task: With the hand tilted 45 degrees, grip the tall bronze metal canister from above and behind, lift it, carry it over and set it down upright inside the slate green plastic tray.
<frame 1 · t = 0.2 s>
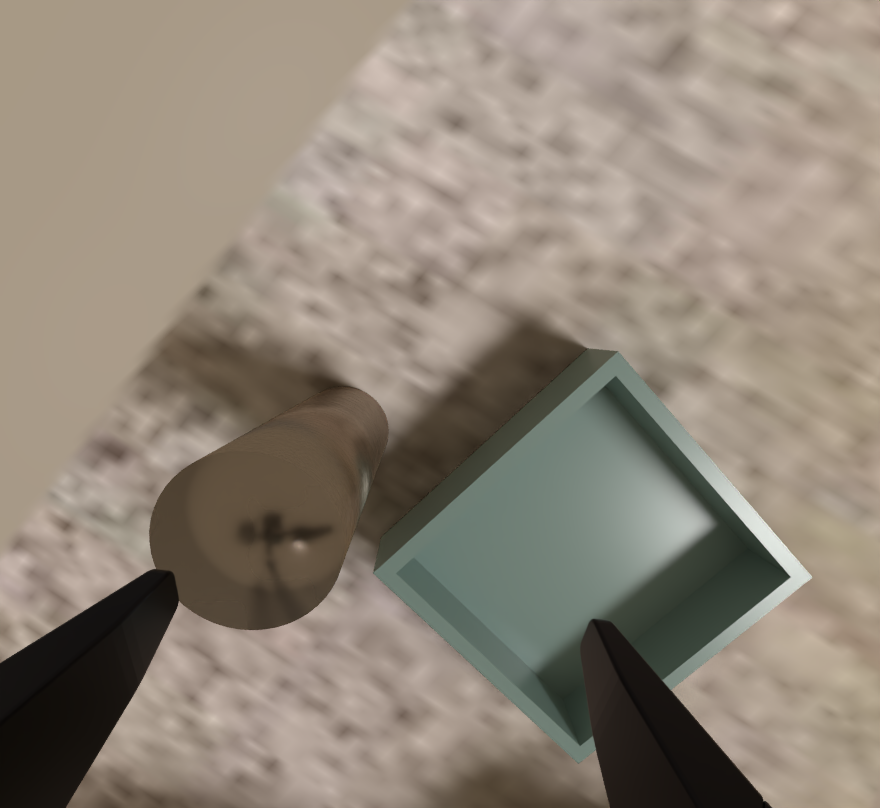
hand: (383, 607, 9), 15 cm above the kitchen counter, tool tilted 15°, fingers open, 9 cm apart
tray: (571, 539, 25), on the kitchen counter
canister: (344, 430, 24), on the kitchen counter
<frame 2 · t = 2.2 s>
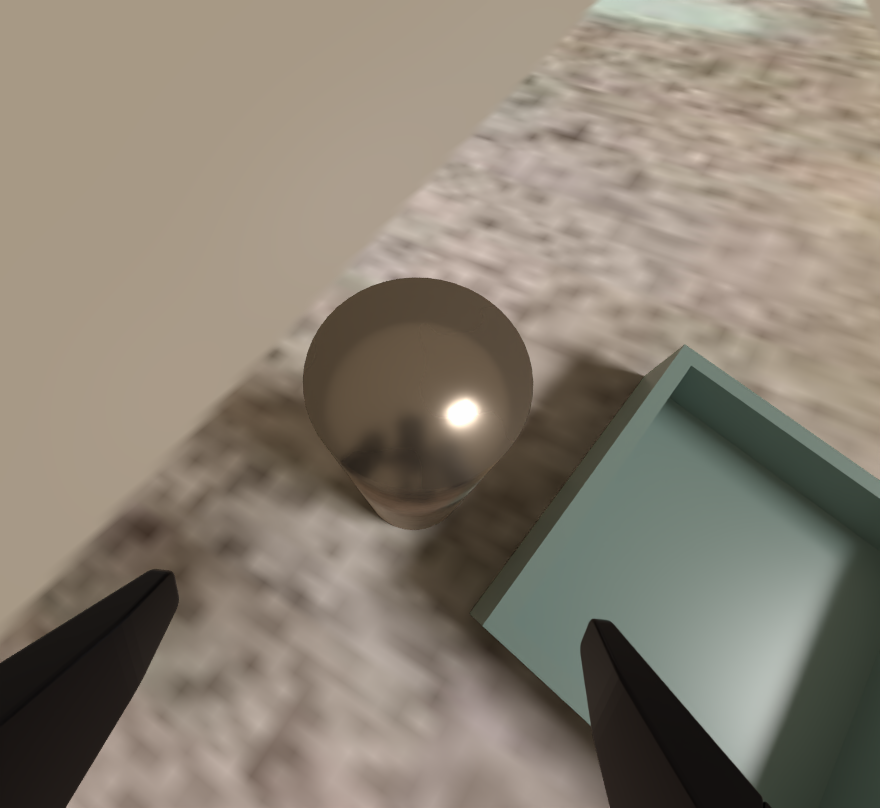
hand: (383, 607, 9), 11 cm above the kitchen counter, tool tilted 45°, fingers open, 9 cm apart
tray: (701, 590, 21), on the kitchen counter
canister: (414, 478, 21), on the kitchen counter
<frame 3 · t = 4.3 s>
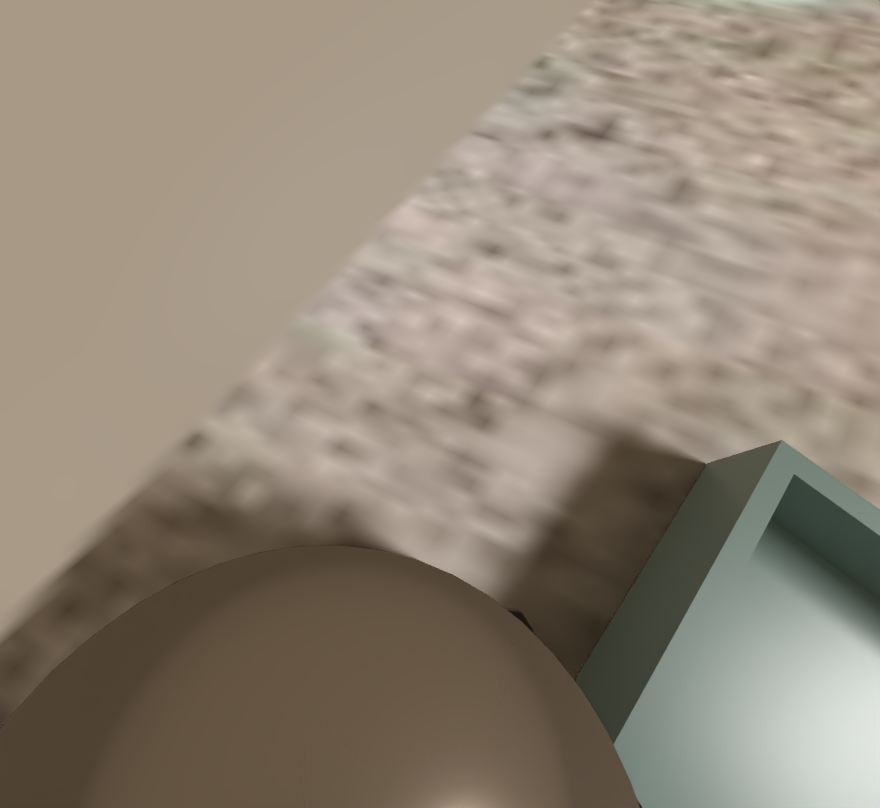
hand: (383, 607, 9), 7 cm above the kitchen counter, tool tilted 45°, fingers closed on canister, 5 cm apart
tray: (807, 802, 14), on the kitchen counter
canister: (388, 629, 15), on the kitchen counter, touching gripper
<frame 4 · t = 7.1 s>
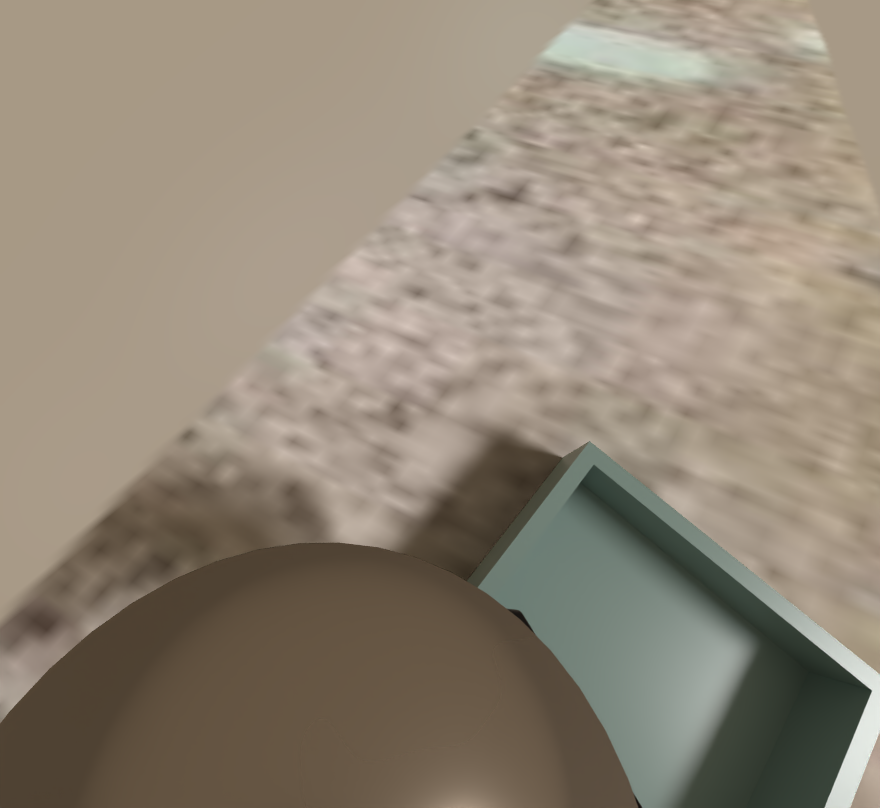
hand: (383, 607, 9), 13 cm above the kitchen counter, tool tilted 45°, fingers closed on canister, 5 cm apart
tray: (600, 687, 21), on the kitchen counter
canister: (388, 629, 15), point 7 cm above the kitchen counter, touching gripper
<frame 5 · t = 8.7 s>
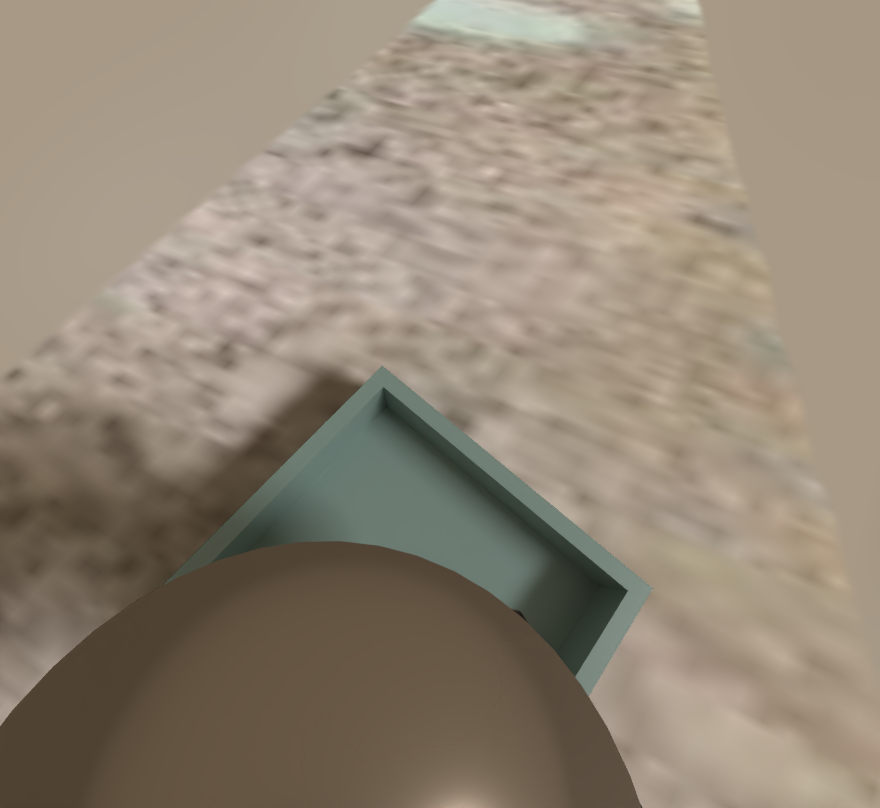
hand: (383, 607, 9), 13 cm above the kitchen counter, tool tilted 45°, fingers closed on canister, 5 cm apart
tray: (396, 604, 21), on the kitchen counter
canister: (388, 629, 15), point 7 cm above the kitchen counter, touching gripper
when the fingers open (9 cm above the kitchen counter, at t = 10.0 s): canister drops 1 cm, resting on tray.
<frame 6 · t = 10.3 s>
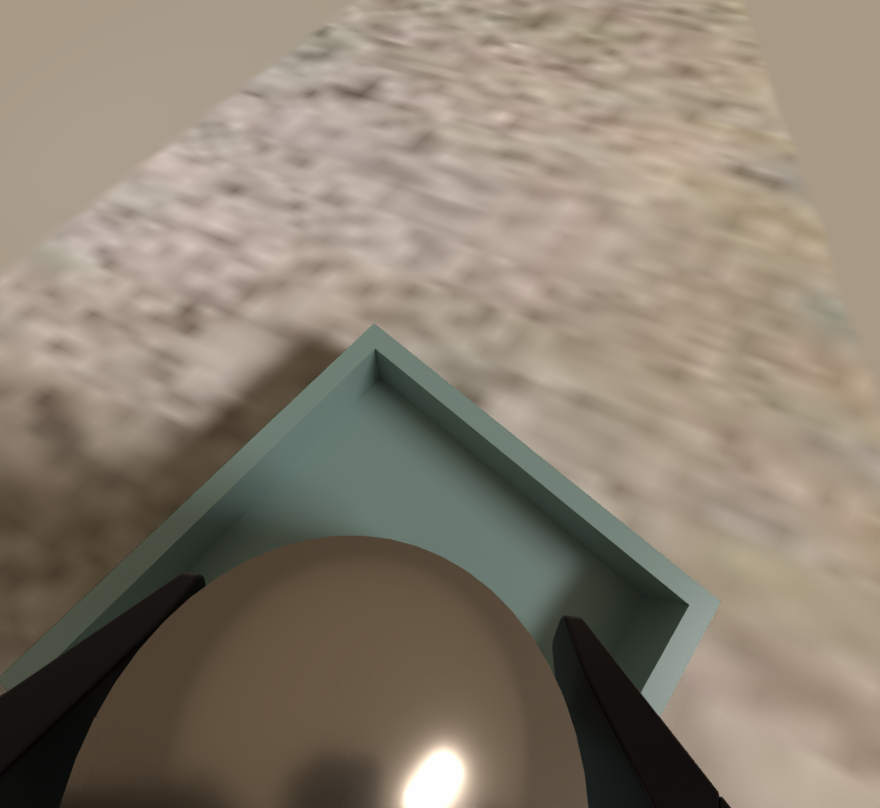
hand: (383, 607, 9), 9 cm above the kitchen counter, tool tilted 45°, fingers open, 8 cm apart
tray: (391, 620, 17), on the kitchen counter
canister: (389, 626, 16), point 1 cm above the kitchen counter, touching tray
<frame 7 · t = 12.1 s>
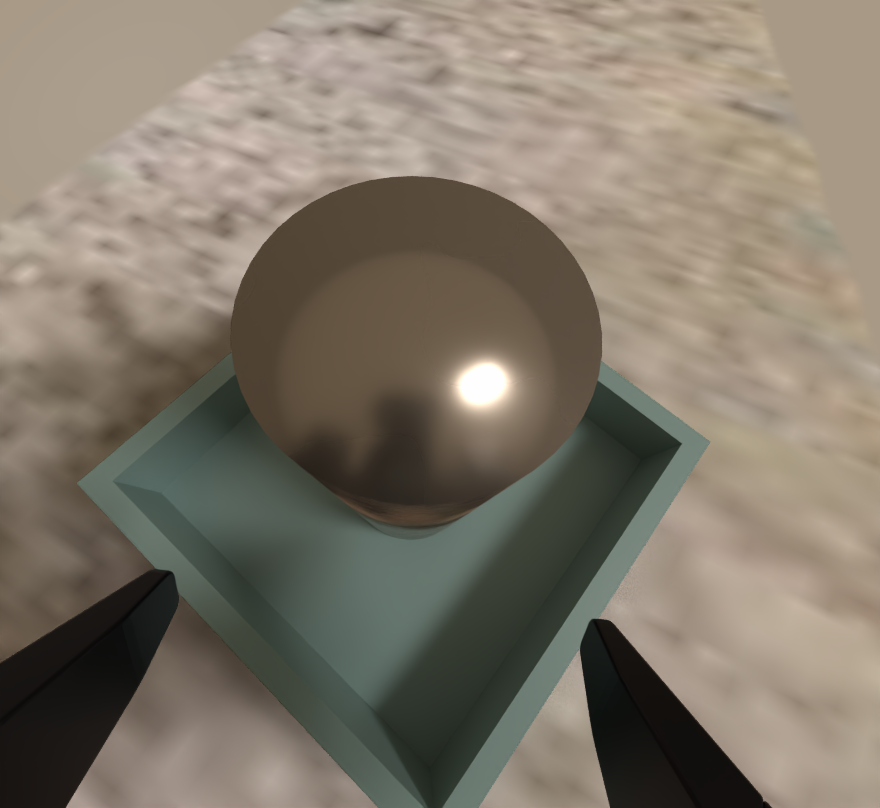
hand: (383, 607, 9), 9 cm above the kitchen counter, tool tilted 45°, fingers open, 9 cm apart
tray: (413, 478, 19), on the kitchen counter
canister: (412, 477, 18), point 1 cm above the kitchen counter, touching tray
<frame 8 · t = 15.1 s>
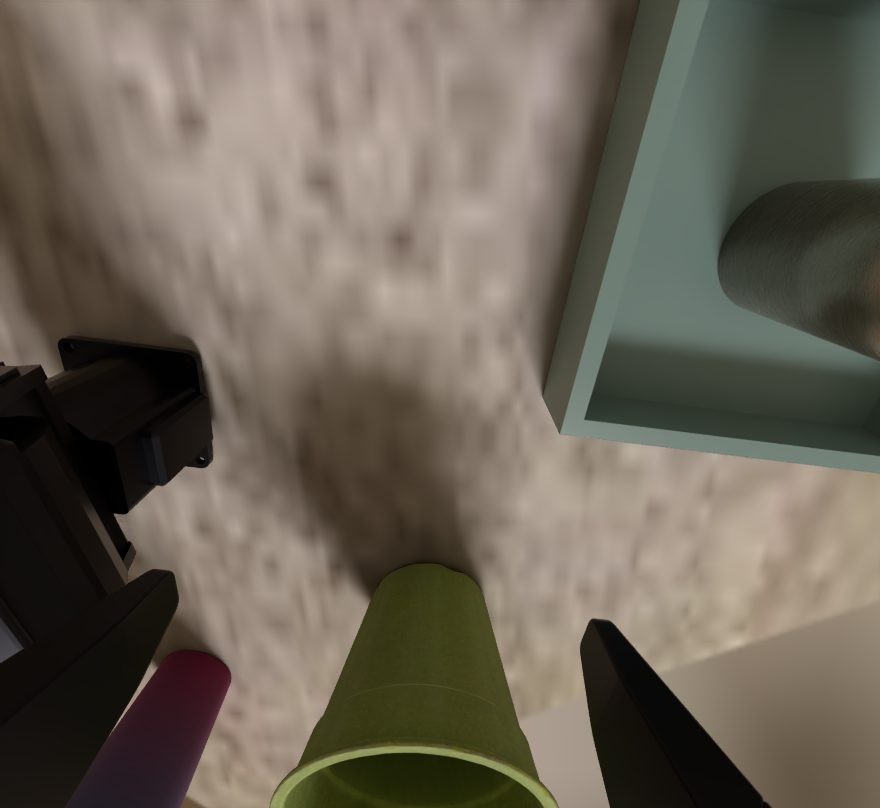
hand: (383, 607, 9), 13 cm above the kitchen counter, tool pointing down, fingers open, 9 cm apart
tray: (771, 248, 18), on the kitchen counter
cup: (198, 669, 31), on the kitchen counter
plant pot: (429, 597, 28), on the kitchen counter
canister: (783, 251, 17), point 1 cm above the kitchen counter, touching tray
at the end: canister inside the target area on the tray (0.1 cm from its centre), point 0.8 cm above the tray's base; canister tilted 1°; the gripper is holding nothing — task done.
